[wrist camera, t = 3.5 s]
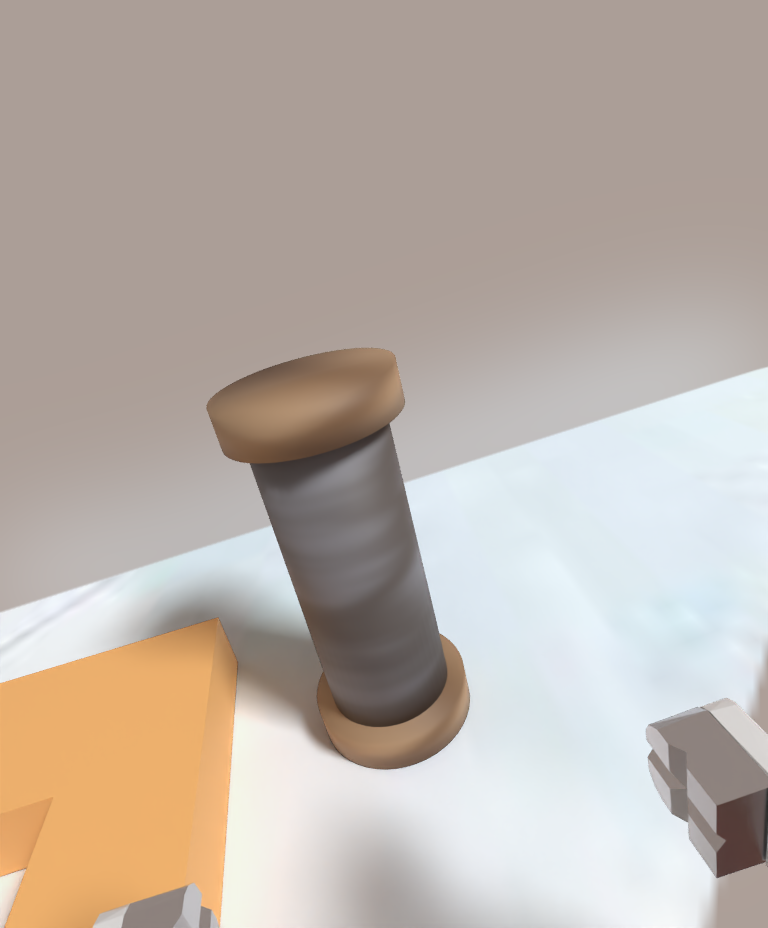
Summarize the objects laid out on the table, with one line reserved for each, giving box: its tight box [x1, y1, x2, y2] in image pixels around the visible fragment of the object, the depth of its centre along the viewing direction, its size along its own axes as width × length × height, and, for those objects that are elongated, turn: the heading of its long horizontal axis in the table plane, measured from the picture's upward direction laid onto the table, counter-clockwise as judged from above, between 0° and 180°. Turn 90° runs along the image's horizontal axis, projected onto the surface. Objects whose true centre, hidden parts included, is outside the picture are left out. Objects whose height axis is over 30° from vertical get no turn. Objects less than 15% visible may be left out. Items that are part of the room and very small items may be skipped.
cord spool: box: [207, 348, 470, 769], centre depth 22 cm, size 6×6×15 cm
